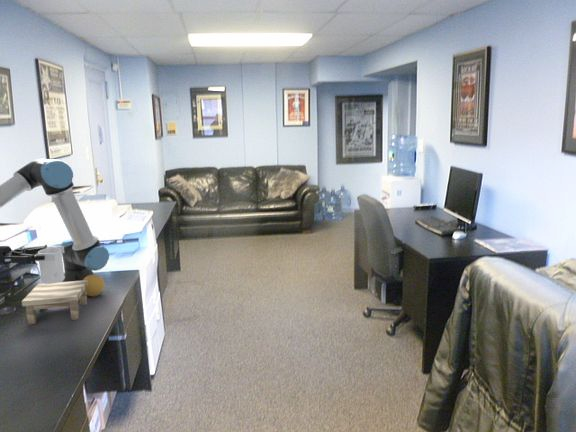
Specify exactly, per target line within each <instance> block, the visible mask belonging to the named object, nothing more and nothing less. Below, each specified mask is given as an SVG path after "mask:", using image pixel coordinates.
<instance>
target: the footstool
mask: <svg viewBox="0 0 576 432" xmlns="http://www.w3.org/2000/svg"><path fill="white" fill-rule="evenodd" d="M87 285H88V282H87V280H82V281H70V282H62V281H60V282H58V283H53V284H44V283H38V284H37V285H36V286H35V287H34V288H32V290H30V292H28V294H27V295H26V296H25V298H23V299H22V300H21V306H22V307H25V311H26V320H27V325H34V324H36V323H37V315H36V310H44V309H45V310H46V309H54V308H55V309H56V308H65V307H66V308H68V307H69V310H70V311H69V312H70V317H71V318H70V320H71V321H75V320H79V318H80V312H79V305H81V306H86V305H87V304H88V295H87V294H86V287H87ZM78 302H79V303H78Z"/></svg>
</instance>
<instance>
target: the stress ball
mask: <svg viewBox="0 0 576 432" xmlns="http://www.w3.org/2000/svg"><path fill="white" fill-rule="evenodd" d="M83 280H87V282H88V285H87V287H86V294H87V297H88V296H89V297H93V298H94V297H97V296H98V295H101V293H102V292H103V291H104V289H105V286H106V285H105V280H104V279H103V277H102V276H100V275H99V274H95V273H93V274H92V275H88V276H86V277H85V278H84V279H83Z"/></svg>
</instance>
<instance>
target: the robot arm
mask: <svg viewBox="0 0 576 432" xmlns="http://www.w3.org/2000/svg"><path fill="white" fill-rule="evenodd" d="M73 179H74V172H73V169H72V167H71V166H70V165H69V164H68V163H67V162H66V161H63V160H60V159H57V158H56V159H55V158H50V159H49V158H48V159H47V158H38V159H34V160H32V161H30V162H29V163H27V164H25V165H24V166H22V167H21V168H19V169H18V170H16V171H14V172H13V175H12V176H11V177H10V178H8V180H6V181H5V182H3V183H1V184H0V209H1V208H3V207H4V206H5V205H7V204H9V203H10V202H11V201H13V200H14V199H17V198H18V197H20V195H21V194H24V192H26V191H27V192H30V191H32V190H33V189H35V188H37V187H42V189H43V190H44V193H45V195H46V196H49V197H51V198H52V201H53V203H54V205H55V206H56V209H57V211H58V214H59V215H60V218H61V219H62V221H63V223H64V225H65V228H66V230H67V232H68V234H69V236H70V239H66V240H63V241H62V242H61V246H59V245H58V246H48V245H47V244H45V245H38V246H30V247H29V246H28V247H20V248H15V249H12V248H11V246H9V245H0V267H1V266H3V267H4V266H10V265H11V264H33V265H35V264H36V263H37V262H39V261H52V260H55V253H42V254H38V251H40V250H42V249H45V248H60V249H61V254H62V262H63V271H64V276H65V279H64V280H63V281H61V282H70V281H82V280H83V279H84V278H85V277H86V276H88V275H92V274H94V272H93V271H95V272H96V271H100V270H102V269H103V268H104V267H106V266H107V264H108V261H109V259H110V252H109V250H108V249H107V248H106V247H105V246H103V245H102V244H101V243H100V240H99V238H98V237H97V236H95V235H94V234H92V231H91V229H90V227H89V224H88V222H87V220H86V217H85V215H84V213H83V211H82V209H81V207H80V205H79V202H78V200H77V198H76V196H75V194H74V191H73V188H74V186H75V184H74V182H73Z"/></svg>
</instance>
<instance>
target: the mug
mask: <svg viewBox="0 0 576 432" xmlns="http://www.w3.org/2000/svg"><path fill="white" fill-rule="evenodd" d="M42 253H55V260H52V261H38V265H39V271H40V272H39V274H40V282H41V284H53V283H58V282H62V281H63V280H64V279H65V276H64V272H65V271H64V263H63V255H62V253H61V249H60V248H45V249H42V250H40V251H38V254H42Z"/></svg>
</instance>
